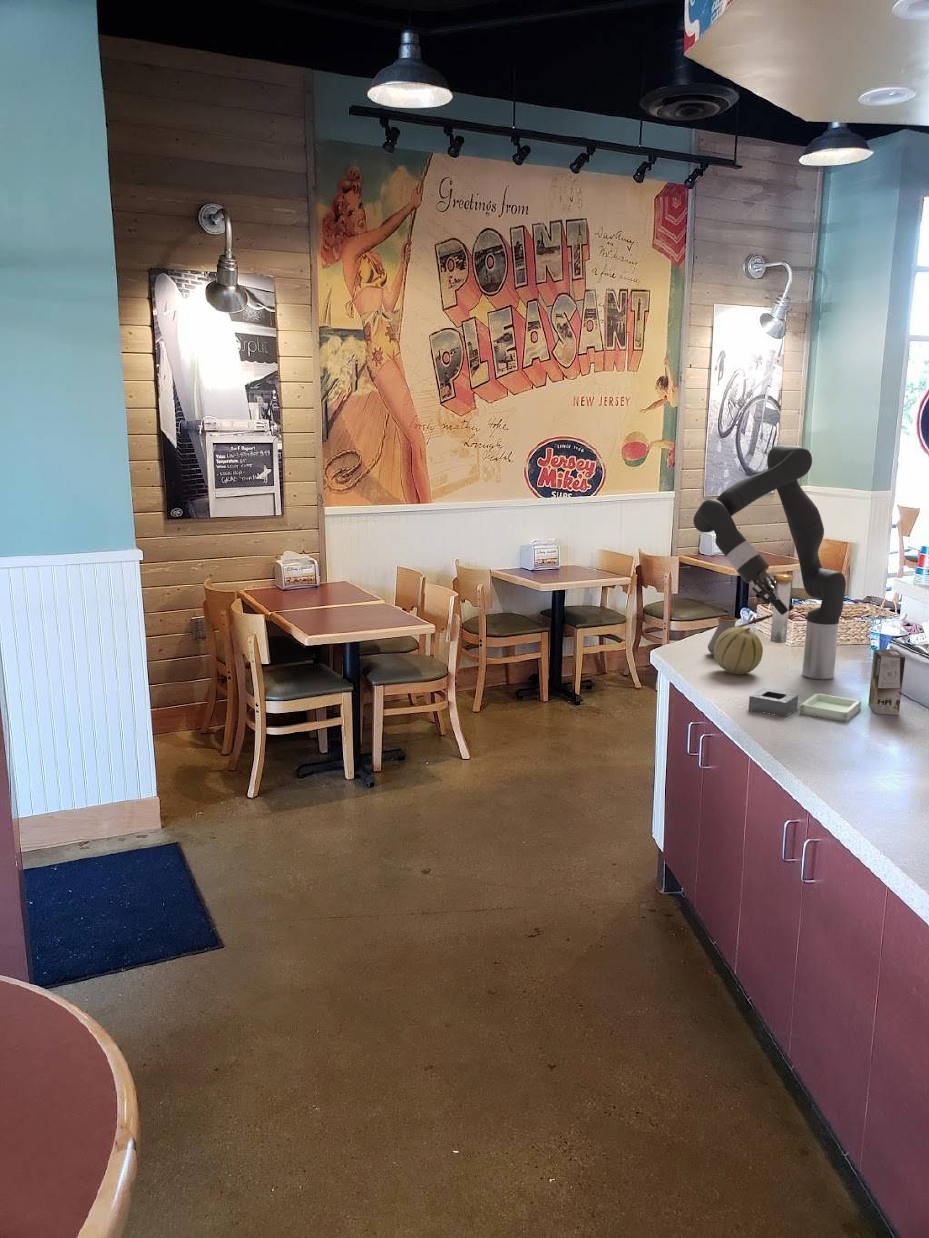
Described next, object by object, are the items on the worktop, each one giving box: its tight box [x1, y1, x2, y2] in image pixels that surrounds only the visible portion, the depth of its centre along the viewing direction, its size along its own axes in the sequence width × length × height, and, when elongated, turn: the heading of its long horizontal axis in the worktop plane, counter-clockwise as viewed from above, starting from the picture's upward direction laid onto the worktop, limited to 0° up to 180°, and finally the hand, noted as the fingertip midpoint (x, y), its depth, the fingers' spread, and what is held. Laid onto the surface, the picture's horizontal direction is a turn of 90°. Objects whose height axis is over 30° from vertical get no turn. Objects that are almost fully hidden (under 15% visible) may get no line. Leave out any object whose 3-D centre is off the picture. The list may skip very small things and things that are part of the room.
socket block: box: [748, 687, 799, 718], centre depth 259 cm, size 10×10×4 cm
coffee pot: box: [707, 613, 773, 657], centre depth 315 cm, size 21×12×15 cm, turn 82°
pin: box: [770, 573, 794, 644], centre depth 254 cm, size 5×5×18 cm
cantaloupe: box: [713, 626, 764, 675], centre depth 294 cm, size 15×15×15 cm
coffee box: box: [868, 648, 906, 716], centre depth 259 cm, size 9×6×16 cm
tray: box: [799, 692, 862, 723], centre depth 258 cm, size 14×12×2 cm
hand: (788, 611), depth 253 cm, fingers closed on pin, 4 cm apart
